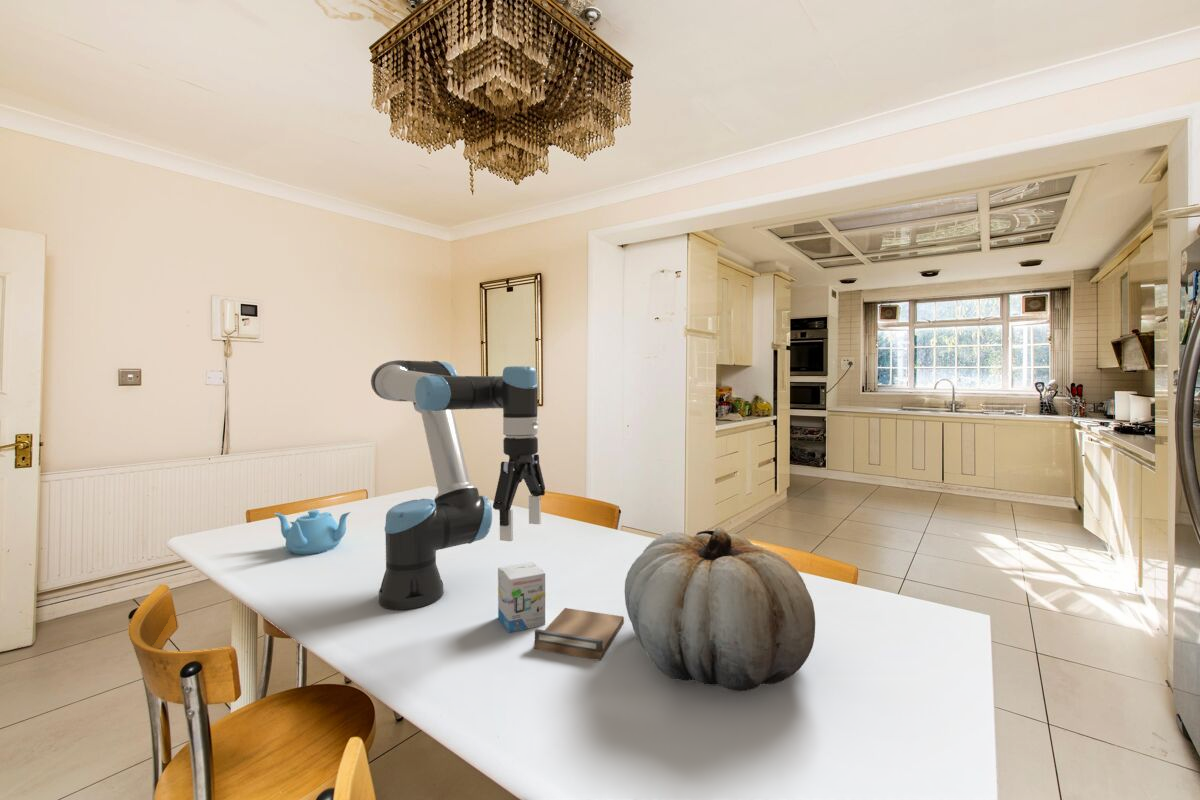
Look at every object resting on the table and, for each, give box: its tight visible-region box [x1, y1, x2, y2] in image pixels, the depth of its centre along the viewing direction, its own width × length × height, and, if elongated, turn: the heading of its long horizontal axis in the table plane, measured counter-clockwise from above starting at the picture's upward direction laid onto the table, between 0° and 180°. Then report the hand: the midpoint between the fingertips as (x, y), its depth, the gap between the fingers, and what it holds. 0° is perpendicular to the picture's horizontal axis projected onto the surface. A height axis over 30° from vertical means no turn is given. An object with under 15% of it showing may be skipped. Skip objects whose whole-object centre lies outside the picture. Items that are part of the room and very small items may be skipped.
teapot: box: [273, 509, 351, 555], centre depth 164 cm, size 17×19×12 cm
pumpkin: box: [624, 527, 816, 692], centre depth 98 cm, size 37×36×25 cm
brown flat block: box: [533, 607, 625, 661], centre depth 106 cm, size 14×16×4 cm
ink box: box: [497, 561, 546, 633], centre depth 113 cm, size 8×8×12 cm
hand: (521, 531), depth 112 cm, fingers open, 13 cm apart
